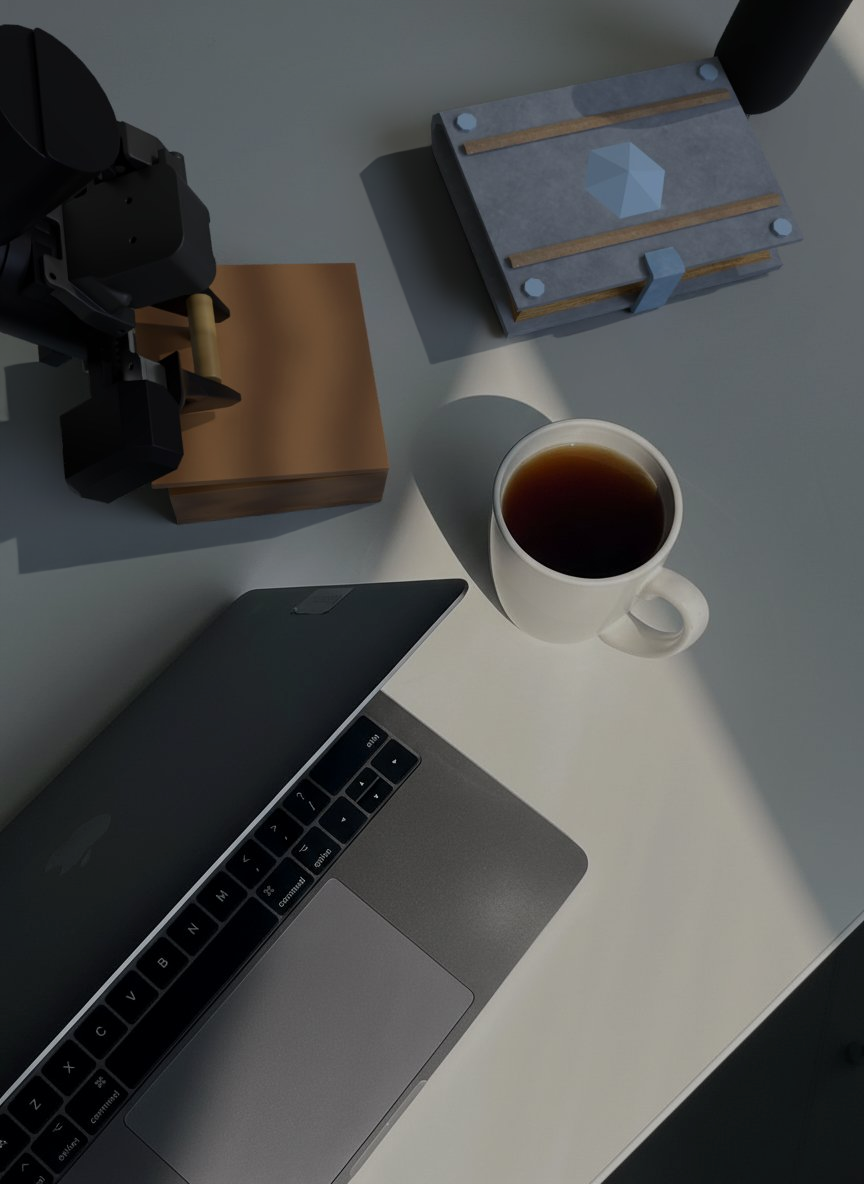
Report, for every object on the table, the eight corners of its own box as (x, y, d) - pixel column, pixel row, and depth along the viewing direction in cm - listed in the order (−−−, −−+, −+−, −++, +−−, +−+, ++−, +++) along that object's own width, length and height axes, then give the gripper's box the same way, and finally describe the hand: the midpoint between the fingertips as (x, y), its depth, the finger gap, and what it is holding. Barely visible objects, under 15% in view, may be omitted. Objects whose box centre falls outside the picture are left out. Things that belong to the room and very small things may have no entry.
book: (690, 89, 77) (716, 36, 72) (779, 277, 73) (812, 235, 69) (427, 144, 73) (436, 91, 68) (507, 346, 69) (523, 307, 64)
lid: (152, 489, 57) (149, 455, 53) (128, 273, 60) (124, 224, 56) (387, 472, 60) (403, 439, 56) (353, 268, 64) (365, 223, 59)
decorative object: (793, 91, 78) (905, -86, 64) (758, 151, 76) (865, -19, 62) (719, 48, 78) (813, -138, 64) (682, 106, 77) (771, -73, 62)
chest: (178, 525, 63) (169, 496, 58) (155, 326, 66) (145, 285, 62) (381, 501, 65) (388, 472, 60) (350, 310, 68) (354, 269, 64)
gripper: (107, 373, 39) (365, 462, 52) (69, -25, 44) (314, 147, 56) (-57, 472, 45) (211, 531, 57) (-75, 112, 49) (176, 240, 62)
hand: (230, 359), depth 58 cm, fingers closed on lid, 5 cm apart
